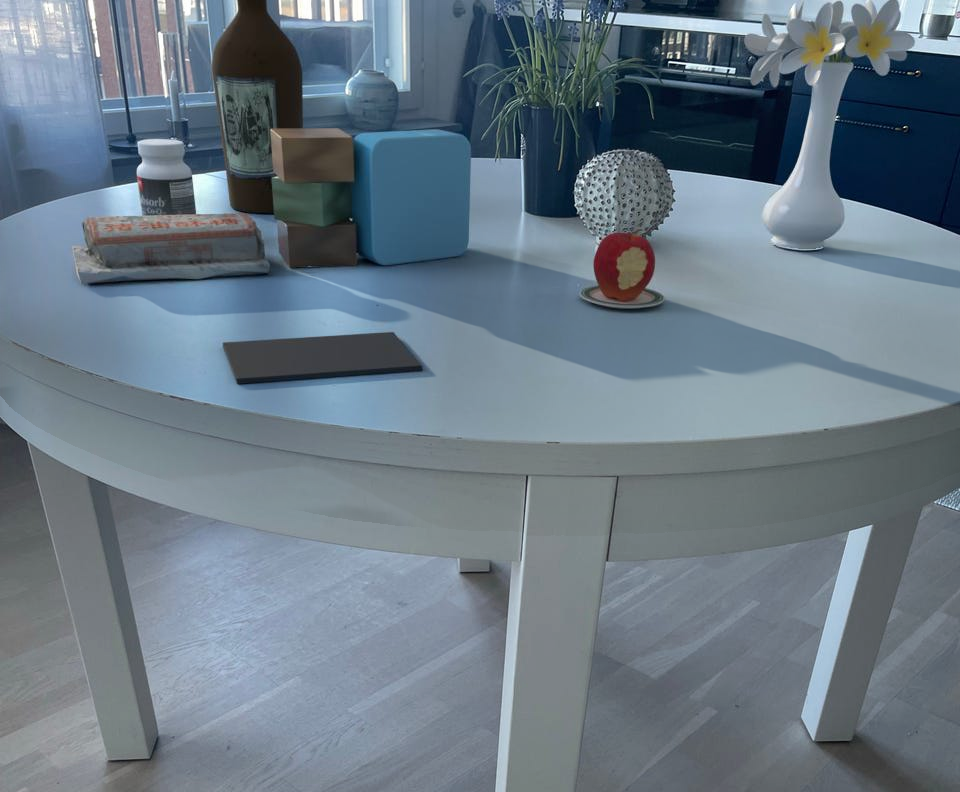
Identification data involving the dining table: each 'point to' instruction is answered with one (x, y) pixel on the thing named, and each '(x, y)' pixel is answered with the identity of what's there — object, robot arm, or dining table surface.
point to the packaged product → (169, 247)
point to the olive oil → (254, 101)
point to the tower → (314, 196)
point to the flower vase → (821, 105)
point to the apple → (623, 273)
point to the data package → (411, 195)
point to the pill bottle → (164, 178)
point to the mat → (318, 357)
